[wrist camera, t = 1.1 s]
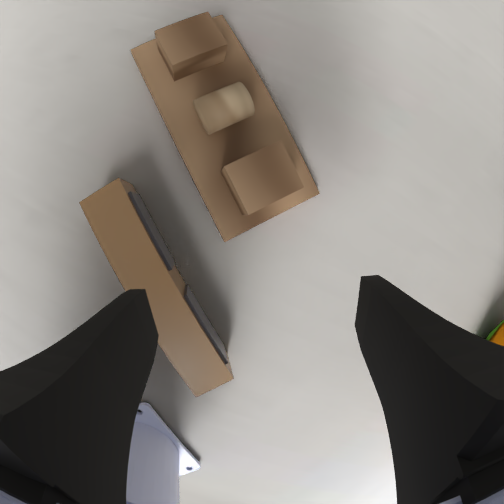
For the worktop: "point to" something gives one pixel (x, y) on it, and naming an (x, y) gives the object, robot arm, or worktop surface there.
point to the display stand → (224, 123)
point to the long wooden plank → (157, 284)
